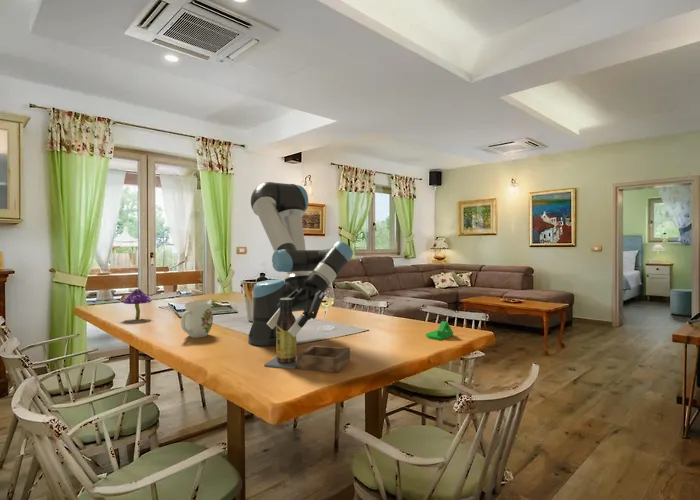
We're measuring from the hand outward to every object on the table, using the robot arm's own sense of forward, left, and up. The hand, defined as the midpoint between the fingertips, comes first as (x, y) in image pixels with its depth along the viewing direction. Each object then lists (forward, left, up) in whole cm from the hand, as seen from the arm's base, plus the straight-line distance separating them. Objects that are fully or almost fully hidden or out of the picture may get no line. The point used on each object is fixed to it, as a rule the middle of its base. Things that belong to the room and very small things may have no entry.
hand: (279, 330), depth 125 cm
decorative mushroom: (-97, +47, -11) cm, 108 cm away
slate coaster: (+1, +2, -11) cm, 11 cm away
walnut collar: (+13, +4, -11) cm, 18 cm away
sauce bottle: (+1, +2, -10) cm, 11 cm away
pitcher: (-48, +25, -11) cm, 55 cm away
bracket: (+46, +54, -11) cm, 72 cm away
